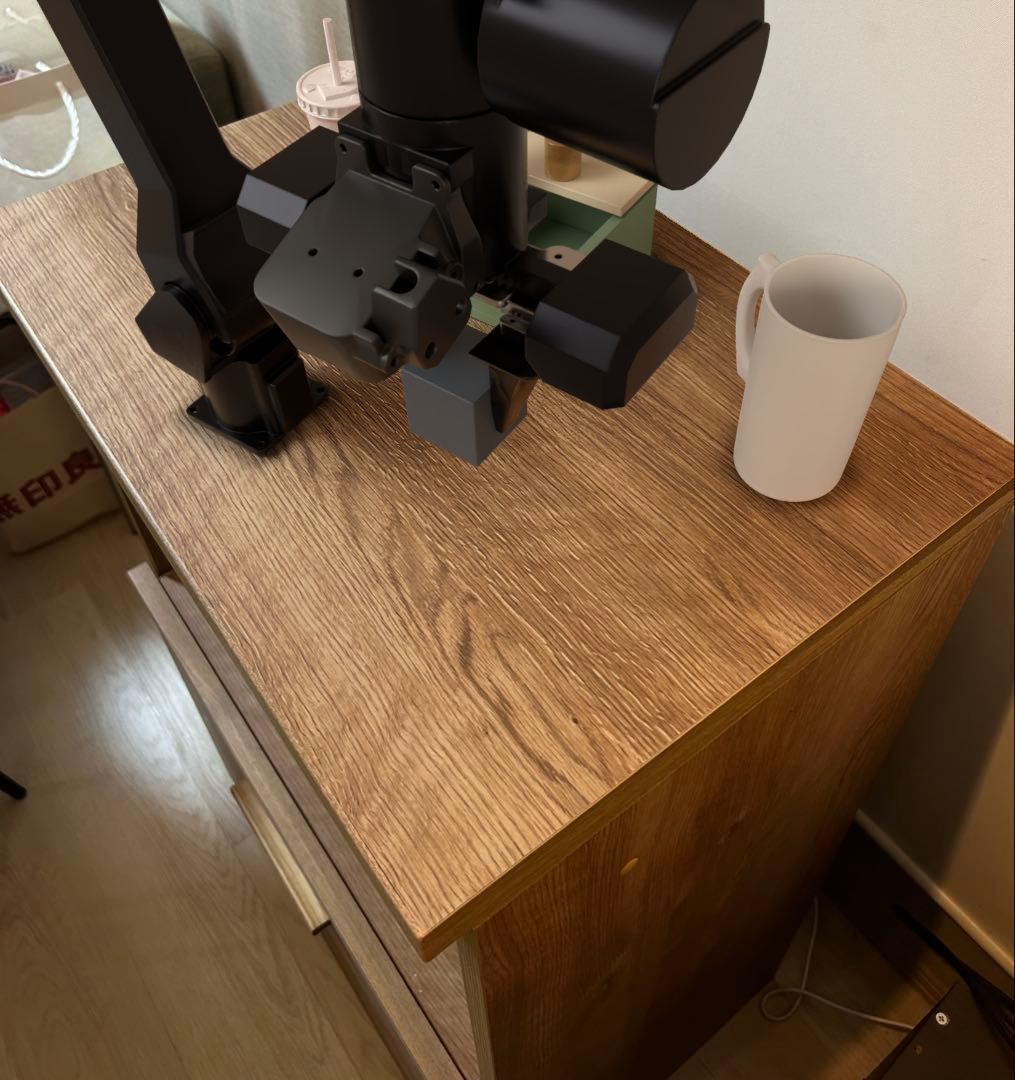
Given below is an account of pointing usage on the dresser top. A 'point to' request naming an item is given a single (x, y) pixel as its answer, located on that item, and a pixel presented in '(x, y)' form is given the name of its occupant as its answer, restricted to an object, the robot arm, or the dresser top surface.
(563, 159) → the slide lid
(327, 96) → the smoothie
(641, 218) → the box
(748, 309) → the mug
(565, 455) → the dresser top surface
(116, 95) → the robot arm
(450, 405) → the block
